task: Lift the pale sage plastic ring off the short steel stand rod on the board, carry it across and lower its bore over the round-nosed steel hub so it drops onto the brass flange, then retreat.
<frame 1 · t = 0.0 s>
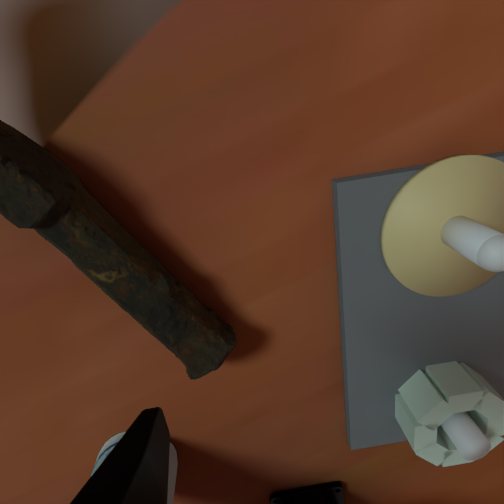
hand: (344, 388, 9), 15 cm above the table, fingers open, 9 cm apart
rod board: (436, 314, 26), on the table
hand tool: (112, 244, 23), on the table
spray can: (139, 455, 29), on the table
ring: (438, 398, 28), point 1 cm above the table, touching rod board
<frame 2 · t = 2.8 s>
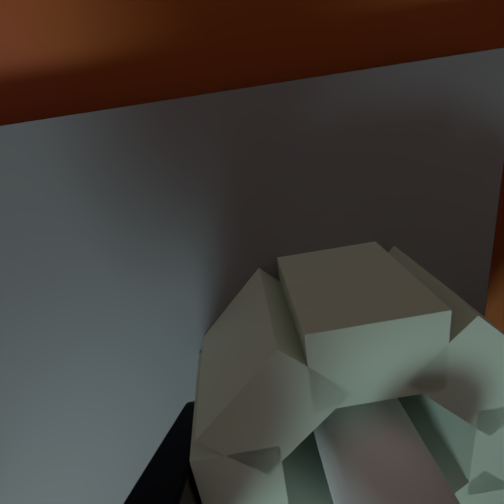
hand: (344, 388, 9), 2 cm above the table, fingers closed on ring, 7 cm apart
rod board: (85, 383, 10), on the table
ring: (334, 366, 10), point 1 cm above the table, touching gripper, rod board
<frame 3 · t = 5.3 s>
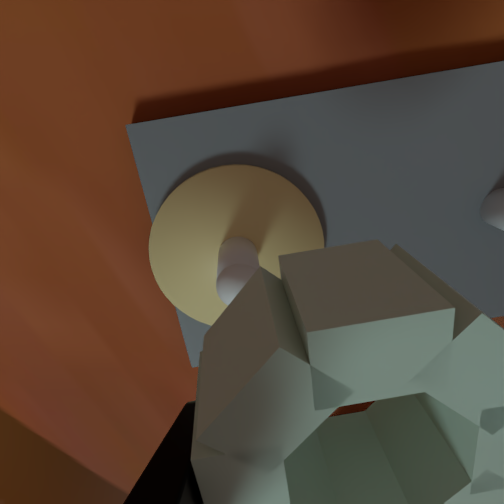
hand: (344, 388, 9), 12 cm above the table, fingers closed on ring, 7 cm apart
rod board: (361, 222, 20), on the table
ring: (335, 365, 10), point 11 cm above the table, touching gripper
when the fingers open (4 cm above the table, at t = 7.9 s): ring drops 2 cm, resting on rod board.
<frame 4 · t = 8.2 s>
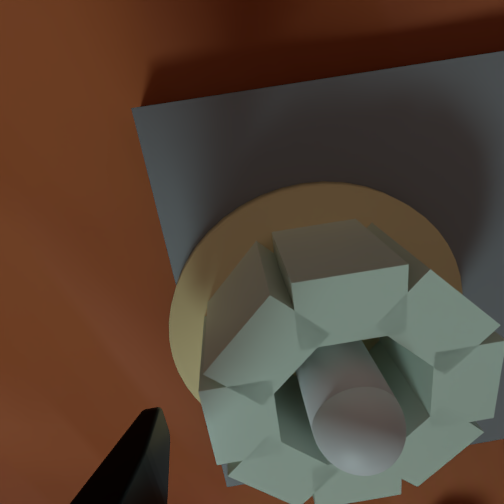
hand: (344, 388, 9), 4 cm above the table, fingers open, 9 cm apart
rod board: (503, 272, 13), on the table
ring: (321, 330, 11), point 2 cm above the table, touching rod board
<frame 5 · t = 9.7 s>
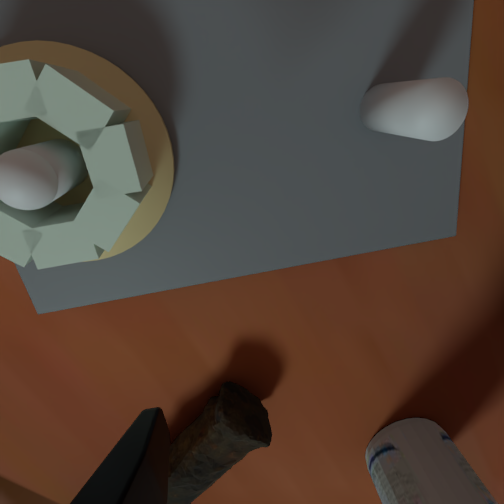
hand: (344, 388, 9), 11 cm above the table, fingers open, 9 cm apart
rod board: (226, 132, 17), on the table
hand tool: (163, 469, 26), on the table
spray can: (403, 446, 27), on the table
ring: (65, 161, 15), point 2 cm above the table, touching rod board
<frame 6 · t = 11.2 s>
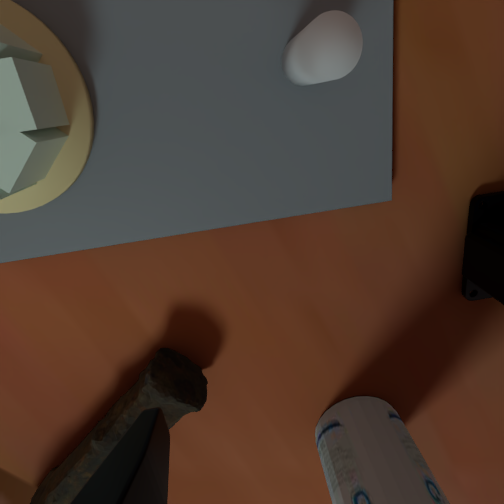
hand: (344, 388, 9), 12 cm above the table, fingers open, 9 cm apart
rod board: (150, 86, 17), on the table
hand tool: (109, 439, 25), on the table
spray can: (355, 426, 26), on the table
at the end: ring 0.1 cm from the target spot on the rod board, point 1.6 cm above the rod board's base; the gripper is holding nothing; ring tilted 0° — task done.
